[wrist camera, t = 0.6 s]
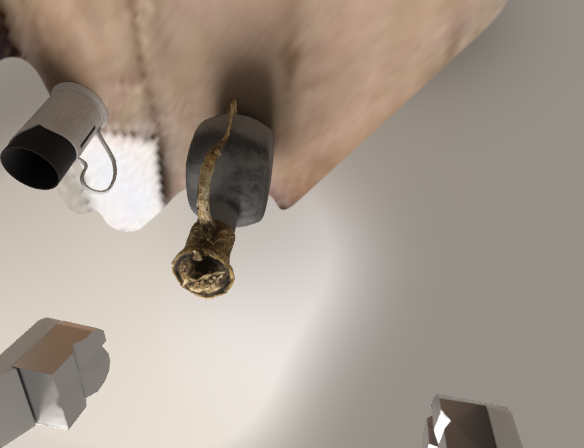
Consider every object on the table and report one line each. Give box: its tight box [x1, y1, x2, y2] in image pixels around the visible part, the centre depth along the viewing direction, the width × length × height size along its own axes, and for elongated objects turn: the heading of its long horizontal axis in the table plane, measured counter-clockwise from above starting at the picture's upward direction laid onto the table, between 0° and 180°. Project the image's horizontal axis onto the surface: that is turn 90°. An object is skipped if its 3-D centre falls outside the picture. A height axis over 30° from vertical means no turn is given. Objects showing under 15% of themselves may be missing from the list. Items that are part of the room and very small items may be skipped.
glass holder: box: [0, 82, 117, 194], centre depth 62 cm, size 9×14×15 cm, turn 53°
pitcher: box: [172, 98, 274, 299], centre depth 55 cm, size 11×19×30 cm, turn 176°
